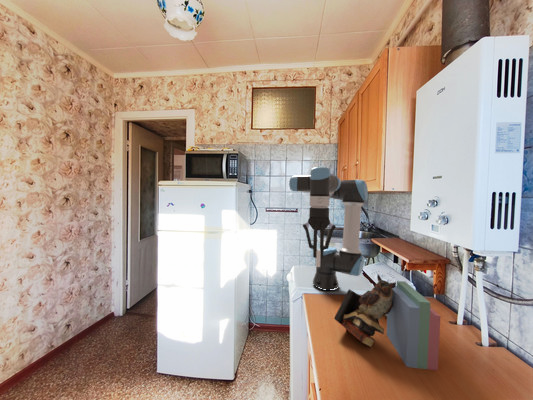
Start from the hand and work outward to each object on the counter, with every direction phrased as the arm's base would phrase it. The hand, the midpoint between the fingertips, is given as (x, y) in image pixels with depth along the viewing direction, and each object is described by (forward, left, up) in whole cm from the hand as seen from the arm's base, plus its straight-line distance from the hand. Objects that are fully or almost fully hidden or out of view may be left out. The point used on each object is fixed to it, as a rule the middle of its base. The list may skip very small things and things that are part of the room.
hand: (317, 265), depth 84 cm
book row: (+5, +32, -27) cm, 42 cm away
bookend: (+3, +14, -25) cm, 29 cm away
